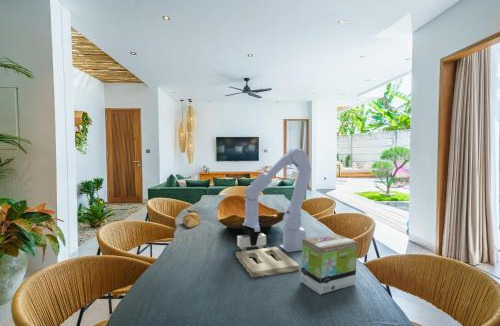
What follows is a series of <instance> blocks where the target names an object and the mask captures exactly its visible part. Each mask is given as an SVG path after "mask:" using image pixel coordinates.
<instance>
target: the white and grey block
mask: <svg viewBox="0 0 500 326" xmlns="http://www.w3.org/2000/svg"><path fill="white" fill-rule="evenodd" d="M236 238H237V239H236V240H237V241H236V243H237V244H236V245H237V247H239V250H240V249H241V250H242V251H247V248H250V247H257V249H263V248H264V246H265V245H267V235H266V234H264V232H263V233H262V232H260V234H259V236H258V239H257V243H256V245H254V246H251V243H250V236H249V235H246V234H244V235H237V236H236ZM241 250H240V251H241Z"/></svg>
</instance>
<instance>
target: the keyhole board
mask: <svg viewBox="0 0 500 326" xmlns="http://www.w3.org/2000/svg"><path fill="white" fill-rule="evenodd" d="M271 254H273V255H274V256H273V255H271ZM235 257H236V259H237V258H238V259H239V260H238V259H237V260H238V261H239V262H240V264H241V263H242V264H243V265H242V264H241V265H242V266H243V268H244V269H245V268H246V269H245V270H246V271H247V273H248V272H249V273H250V274H249V273H248V274H249V275H250V276H251V278H252V277H255V278H260V277H259V276H261V277H265V276H264V275H267V276H272V275H278V274H279V275H280V274H284V273H292V272H299V271H300V264H299V263H298V262H296V261H295V260H294V259H293V258H291V257H289V256H288V255H287V254H285V253H284V252H283V251H282V250H281V249H279V248H278V247H277V246H272V247H266V248H264V247H263V249H259V248H257V249H246V251H241V250H240V251H235ZM249 257H252V258H249ZM274 257H275V258H274ZM253 258H255V259H256V261H254V259H253ZM277 260H278V261H277Z"/></svg>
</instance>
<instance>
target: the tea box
mask: <svg viewBox="0 0 500 326" xmlns="http://www.w3.org/2000/svg"><path fill="white" fill-rule="evenodd" d="M357 251H358V242H357V241H356V240H354V239H351V238H348V237H346V236H343V235H340V234H338V233H333V234H331V233H330V234H327V235H326V234H325V235H320V236H314V237H312V236H311V237H308V238H307V237H306V239H303V241H302V250H301V268H300V269H301V273H300V282H301V283H303V284H304V285H305V286H306V287H308V288H310V289H311V290H313V291H314V292H316V293H317V294H318V295H320V296H321V295H324V294H326V293H330V292H334V291H336V290H340V289H344V288H348V287H352V286H355V285H356V279H357V277H356V276H357V253H358V252H357Z"/></svg>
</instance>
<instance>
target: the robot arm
mask: <svg viewBox="0 0 500 326" xmlns="http://www.w3.org/2000/svg"><path fill="white" fill-rule="evenodd" d="M291 165H294V166H295V167H296V169H297V171H298V174H297V178H296V181H295V183H294V184H295V185H294V189H293V193H292V196H291V199H290V202H289V205H288V207H287V210H286V212H285V213H284V214H283V216H282V220H283V222H284V226H283V229H282V231H283V244H280V245H279V247H280V248H281V249H282V250H284V251H286V252H287V253H292V252H298V251H302V241H303V239H306V238H307V234H306V231H305V229H304V228H303V227H301V226H302V221H301V218H302V206H303V203H304V199H305V195H306V193H307V192H306V191H307V187H308V185H309V184H308V183H309V180H310V177H311V173H312V167H311V164H310V161H309V156H308V153H306V152H305V150H304V149H302V148H292V149H290V150H289V151H288V152H286V153H284V155H283V156H281V158H280V159H279V160H278V161H277V162H275V163H274V165H273V166H272V167H271V168H270V169H269V170H268V171H267V172H261V173H259V174H258V175H257V178H255V179H254V180H253V181H251V182H250V185H248V186H246V187H245V189H244V196H245V202H244V219H243V220H244V222H243V223H242V228H243V230H244V233H245V235H249V236H250V243H251V246H252V247H255V246H254V245H256V243H257V239H258V236H259V234H260V233H262V232H261V226H260V223H259V199H258V198H259V196H260V193H262V192H263V191H264V190H265V189H266V188H267V187H269V185H271V183H272V182H273V177H275V176H276V175H277V174H278V173H279V172H281V170H282V169H284V168H285V167H287V166H291Z"/></svg>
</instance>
